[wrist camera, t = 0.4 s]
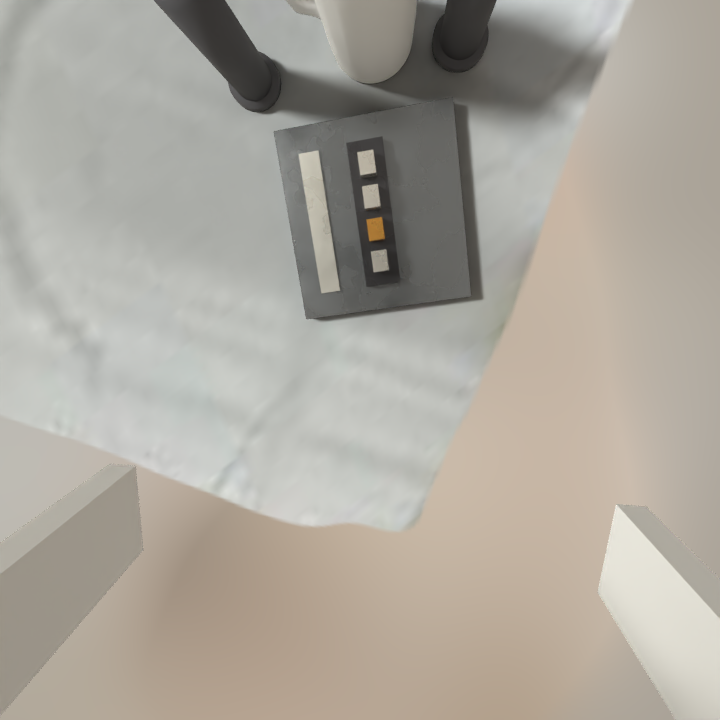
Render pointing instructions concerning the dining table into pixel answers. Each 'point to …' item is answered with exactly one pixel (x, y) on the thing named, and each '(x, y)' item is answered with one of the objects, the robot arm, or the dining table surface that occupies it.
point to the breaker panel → (376, 209)
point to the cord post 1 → (227, 50)
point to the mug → (365, 34)
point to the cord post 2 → (462, 34)
